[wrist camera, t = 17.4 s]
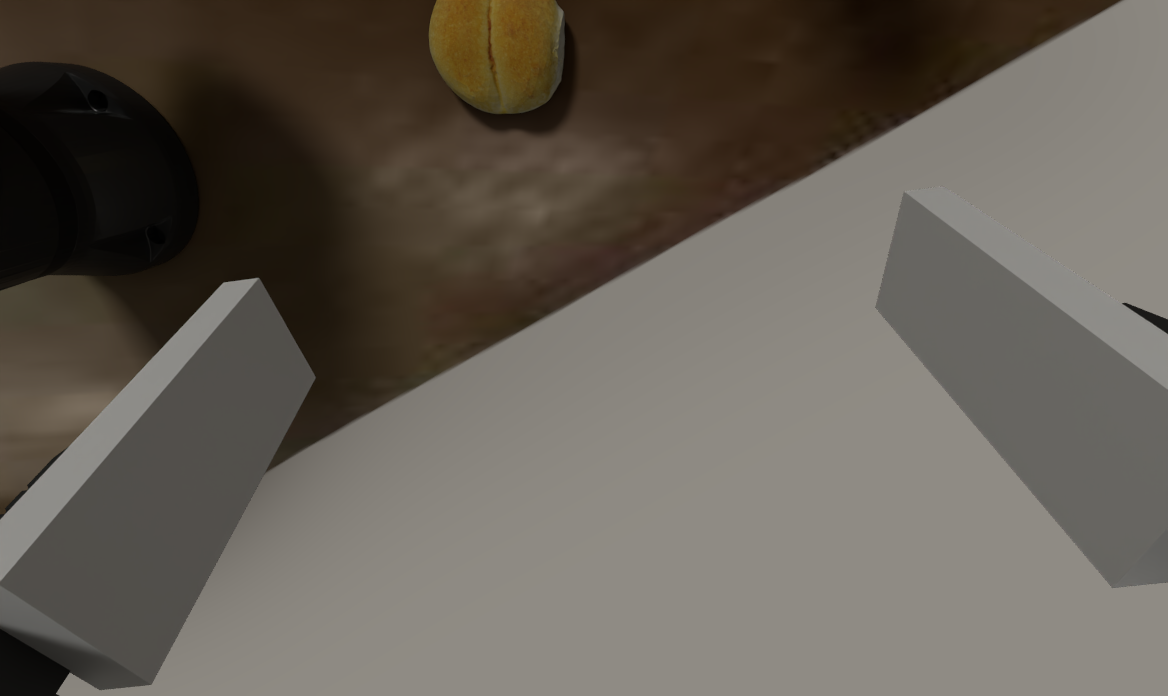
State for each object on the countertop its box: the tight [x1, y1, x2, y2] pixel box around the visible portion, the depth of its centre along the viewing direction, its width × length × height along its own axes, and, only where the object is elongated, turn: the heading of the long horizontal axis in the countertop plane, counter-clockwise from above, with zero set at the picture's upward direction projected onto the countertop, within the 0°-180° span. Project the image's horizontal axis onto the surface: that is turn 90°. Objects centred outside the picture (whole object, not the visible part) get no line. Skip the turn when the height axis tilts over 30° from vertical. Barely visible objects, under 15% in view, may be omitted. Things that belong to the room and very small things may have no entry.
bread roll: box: [429, 0, 565, 114], centre depth 36 cm, size 8×9×4 cm
